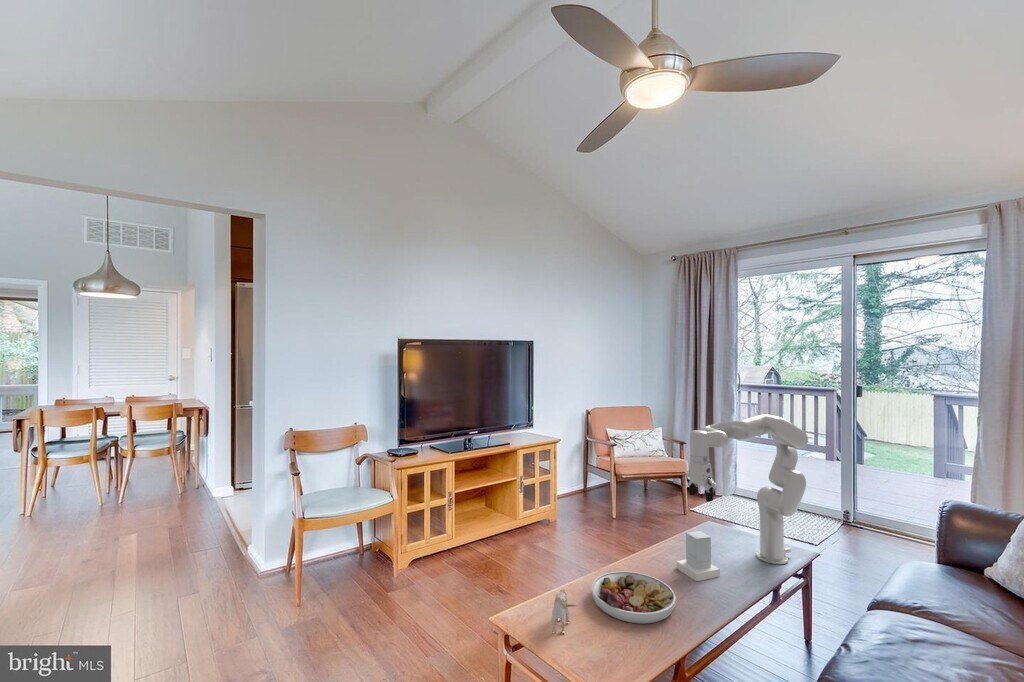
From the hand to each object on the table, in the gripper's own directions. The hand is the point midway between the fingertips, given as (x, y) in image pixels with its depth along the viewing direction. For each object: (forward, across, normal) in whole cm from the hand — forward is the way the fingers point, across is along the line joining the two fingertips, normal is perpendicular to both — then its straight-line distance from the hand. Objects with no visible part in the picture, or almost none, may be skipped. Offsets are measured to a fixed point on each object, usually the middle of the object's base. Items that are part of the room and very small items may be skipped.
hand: (700, 497), depth 203 cm
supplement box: (+26, -4, +7) cm, 27 cm away
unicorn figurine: (+27, -20, +78) cm, 85 cm away
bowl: (+28, -14, +48) cm, 57 cm away
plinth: (+29, -5, +8) cm, 30 cm away
